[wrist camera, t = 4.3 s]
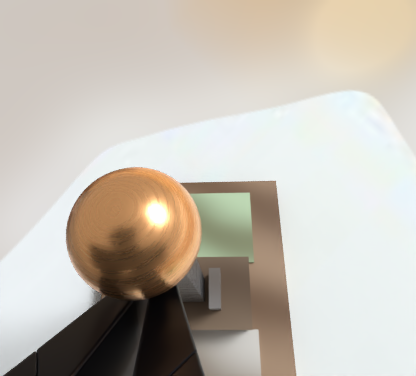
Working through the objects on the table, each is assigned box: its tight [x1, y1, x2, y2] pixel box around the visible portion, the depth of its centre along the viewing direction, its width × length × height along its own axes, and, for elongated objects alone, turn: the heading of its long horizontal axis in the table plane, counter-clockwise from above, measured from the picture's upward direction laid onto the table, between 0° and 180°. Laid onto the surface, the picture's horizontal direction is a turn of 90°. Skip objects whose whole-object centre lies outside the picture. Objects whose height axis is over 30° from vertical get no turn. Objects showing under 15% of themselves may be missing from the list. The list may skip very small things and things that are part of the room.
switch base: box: [101, 181, 296, 376], centre depth 18 cm, size 16×12×5 cm
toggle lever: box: [66, 167, 205, 302], centre depth 11 cm, size 3×3×12 cm
